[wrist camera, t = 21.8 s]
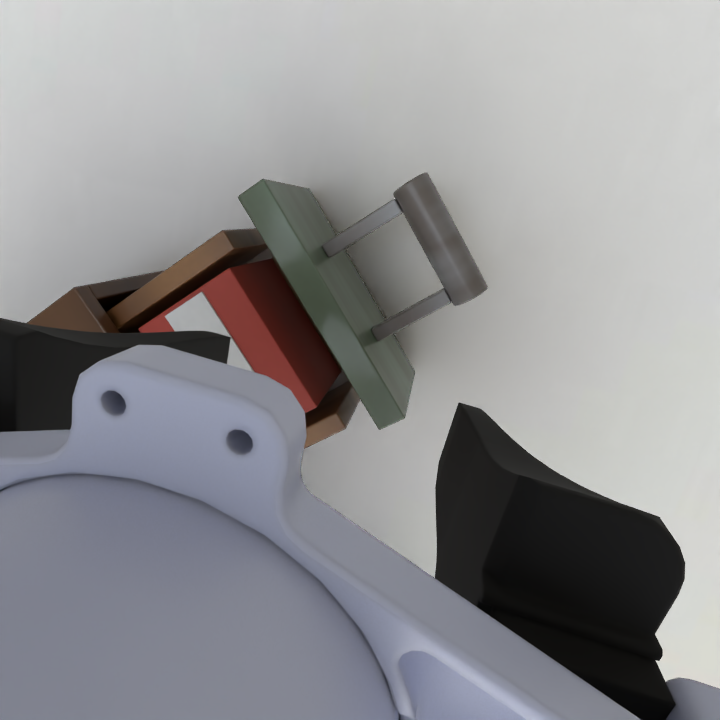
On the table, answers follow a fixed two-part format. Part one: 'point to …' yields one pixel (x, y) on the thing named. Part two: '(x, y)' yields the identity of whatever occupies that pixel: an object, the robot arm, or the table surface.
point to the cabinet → (90, 305)
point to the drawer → (328, 289)
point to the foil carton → (258, 328)
